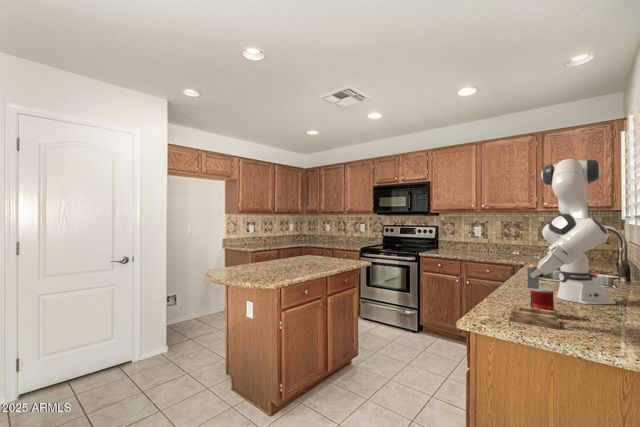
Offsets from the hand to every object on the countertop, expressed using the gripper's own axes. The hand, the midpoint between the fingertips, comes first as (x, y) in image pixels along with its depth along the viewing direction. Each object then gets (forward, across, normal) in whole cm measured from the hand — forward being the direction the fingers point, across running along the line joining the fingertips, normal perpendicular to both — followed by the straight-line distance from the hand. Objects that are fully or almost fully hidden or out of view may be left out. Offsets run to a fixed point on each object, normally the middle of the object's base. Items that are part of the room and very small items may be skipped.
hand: (531, 275), depth 123 cm
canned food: (+11, -13, +15) cm, 23 cm away
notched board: (+12, 0, +13) cm, 18 cm away
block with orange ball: (+3, 0, +4) cm, 5 cm away
